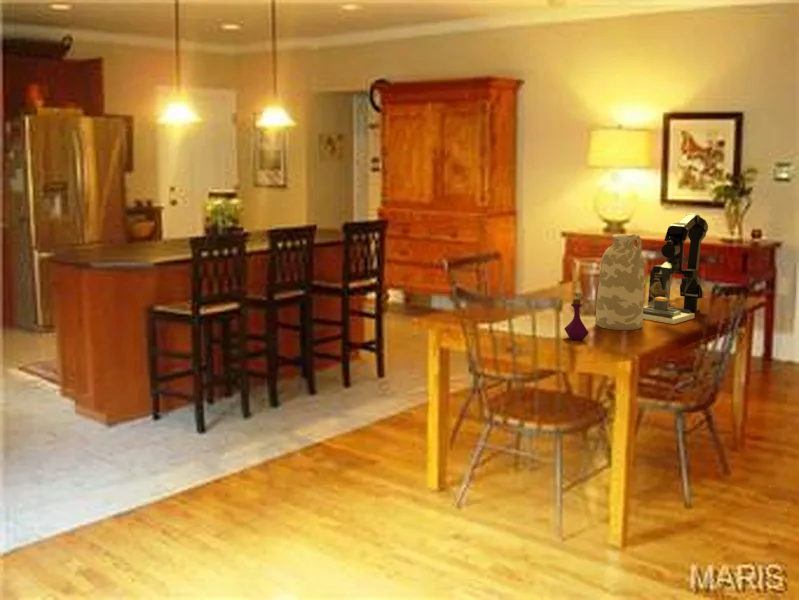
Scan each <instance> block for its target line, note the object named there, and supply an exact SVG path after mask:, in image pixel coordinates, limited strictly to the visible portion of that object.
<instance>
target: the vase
mask: <svg viewBox="0 0 799 600" xmlns="http://www.w3.org/2000/svg"><path fill="white" fill-rule="evenodd" d="M611 237H612V239H613V243H612V245H610V246H609V247H607V248H606V249H605V251H604V252H603V254H602V257H601V260H600V261H601V262H600V269H599V277H598V288H597V296H596V309H595V325H596V326H598V327H599V328H602V329H606V330H611V331H612V330H613V331H635V330H639V329H642V327H643V324H644V323H643V320H644V319H643V307H644V302H645V301H644V297H645V296H644V295H645V294H644V293H645V289H644V288H645V261H644V256H643V255H644V254H642V250H643V242H642V238H641V236H640V235H639V234H637V233H633V234H626V233H624V234H622V233H621V234H620V233H619V234H617V233H616V234H613V235H612V236H611ZM635 240H636V241H635ZM635 242H637V246H636V245H635Z"/></svg>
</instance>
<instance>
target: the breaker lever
mask: <svg viewBox="0 0 799 600" xmlns="http://www.w3.org/2000/svg"><path fill="white" fill-rule="evenodd" d="M667 307H669V305H668V298H665V297H656V298H655V302H654V309H657V310H663V311H667Z"/></svg>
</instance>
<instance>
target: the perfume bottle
mask: <svg viewBox="0 0 799 600" xmlns="http://www.w3.org/2000/svg"><path fill="white" fill-rule="evenodd" d="M582 295H583V292H574V296H575V297H576V298H574V299H573V300H572V302H573V303H571V304H570V305H571V307H573V310H574V311H573V318H572V320H571V321H570V322H569V323H568V324H567V325H566V326H565V327H564V329H563V330H564V331H565V333H566V335H567V337H568V338H569V339H570V340H571V341H583V340H584V339H585V338H586V337H587V336H588V335H589V331H588V329H587V328H586V325H584V322H583V321H582V318H581V315H580V308H581V307H582V306H583V304H582V303H581V301H582V299H581V298H582Z"/></svg>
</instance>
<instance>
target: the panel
mask: <svg viewBox="0 0 799 600" xmlns="http://www.w3.org/2000/svg"><path fill="white" fill-rule="evenodd" d="M695 313H696V312H690V310H686V309H682V308H678V307H674V306H667V311H663V310H657V309H654V304H647V305H644V306H643V320H647V321H653V322H654V321H655V322H658V323H665V324H672V325H675V324H678V323H682V322H685V321H688V320H692V319H695V316H696V315H695Z"/></svg>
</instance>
